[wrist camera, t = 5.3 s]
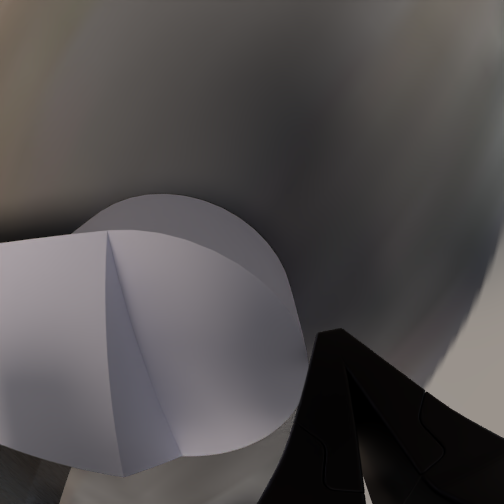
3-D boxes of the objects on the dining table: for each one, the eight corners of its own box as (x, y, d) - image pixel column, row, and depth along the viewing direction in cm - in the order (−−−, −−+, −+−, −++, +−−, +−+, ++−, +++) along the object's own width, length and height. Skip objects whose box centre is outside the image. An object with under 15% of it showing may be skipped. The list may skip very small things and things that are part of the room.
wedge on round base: (41, 383, 13) (291, 390, 13) (-8, 479, 7) (312, 528, 7) (-25, 222, 10) (290, 183, 10) (-133, 299, 4) (371, 299, 4)
